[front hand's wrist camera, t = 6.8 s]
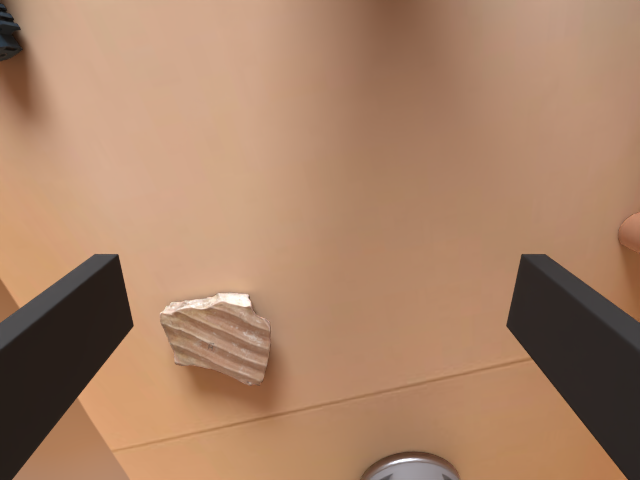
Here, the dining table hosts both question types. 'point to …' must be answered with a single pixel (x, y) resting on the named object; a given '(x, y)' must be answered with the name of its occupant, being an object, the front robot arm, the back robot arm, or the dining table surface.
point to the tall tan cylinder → (630, 233)
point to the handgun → (7, 35)
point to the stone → (219, 335)
